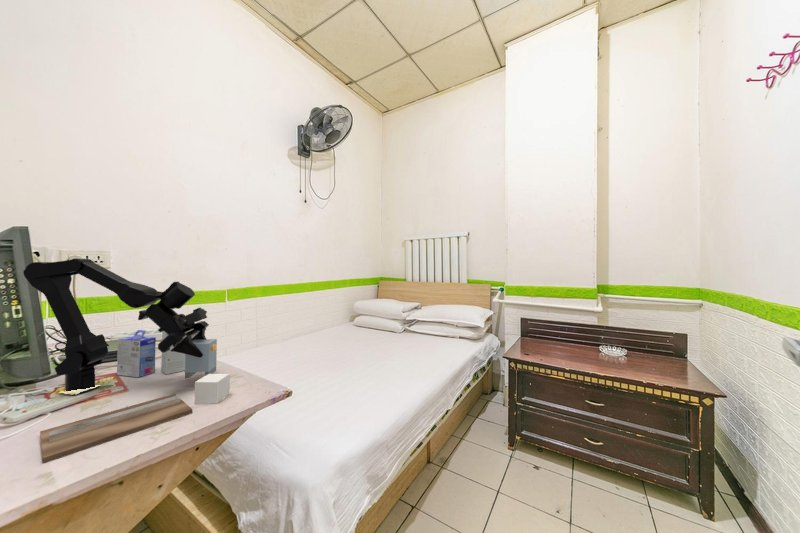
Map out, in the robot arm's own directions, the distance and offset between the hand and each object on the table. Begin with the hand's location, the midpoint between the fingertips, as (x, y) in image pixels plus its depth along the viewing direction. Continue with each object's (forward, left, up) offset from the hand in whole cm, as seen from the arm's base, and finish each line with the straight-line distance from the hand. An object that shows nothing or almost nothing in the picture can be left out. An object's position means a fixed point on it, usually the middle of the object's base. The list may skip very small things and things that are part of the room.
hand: (206, 353), depth 92 cm
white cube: (+11, -9, -10) cm, 17 cm away
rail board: (0, -24, -9) cm, 26 cm away
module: (-1, -1, -7) cm, 7 cm away
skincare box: (-19, +7, -10) cm, 23 cm away
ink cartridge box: (-29, +1, -10) cm, 31 cm away
